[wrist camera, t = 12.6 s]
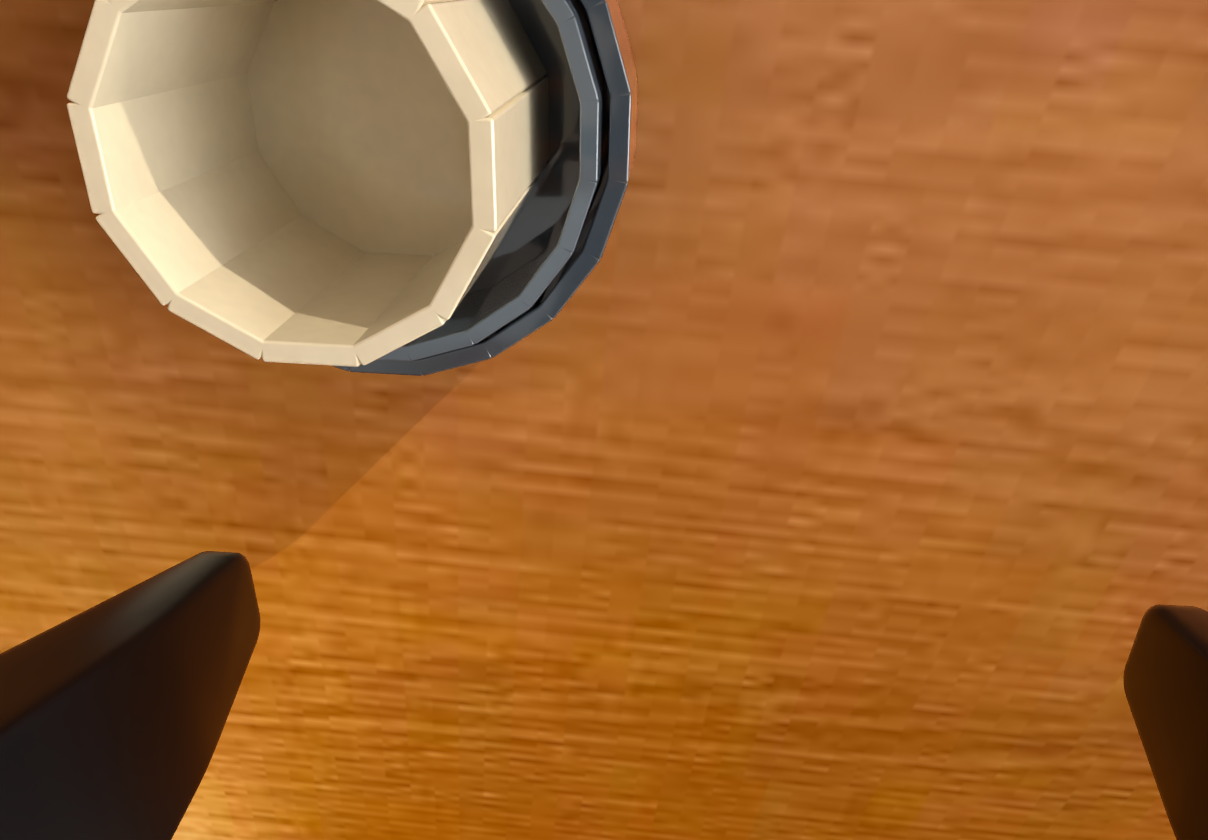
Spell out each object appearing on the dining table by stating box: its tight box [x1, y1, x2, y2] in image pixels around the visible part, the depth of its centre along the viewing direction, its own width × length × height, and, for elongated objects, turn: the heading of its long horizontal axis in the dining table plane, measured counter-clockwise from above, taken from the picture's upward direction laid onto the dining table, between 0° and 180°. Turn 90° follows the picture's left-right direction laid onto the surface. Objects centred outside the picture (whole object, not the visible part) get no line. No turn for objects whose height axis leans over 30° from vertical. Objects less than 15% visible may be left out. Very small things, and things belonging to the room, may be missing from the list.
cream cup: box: [67, 0, 549, 367], centre depth 16 cm, size 7×7×6 cm
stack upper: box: [378, 0, 610, 361], centre depth 18 cm, size 9×9×4 cm
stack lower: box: [331, 0, 638, 376], centre depth 18 cm, size 10×10×3 cm
